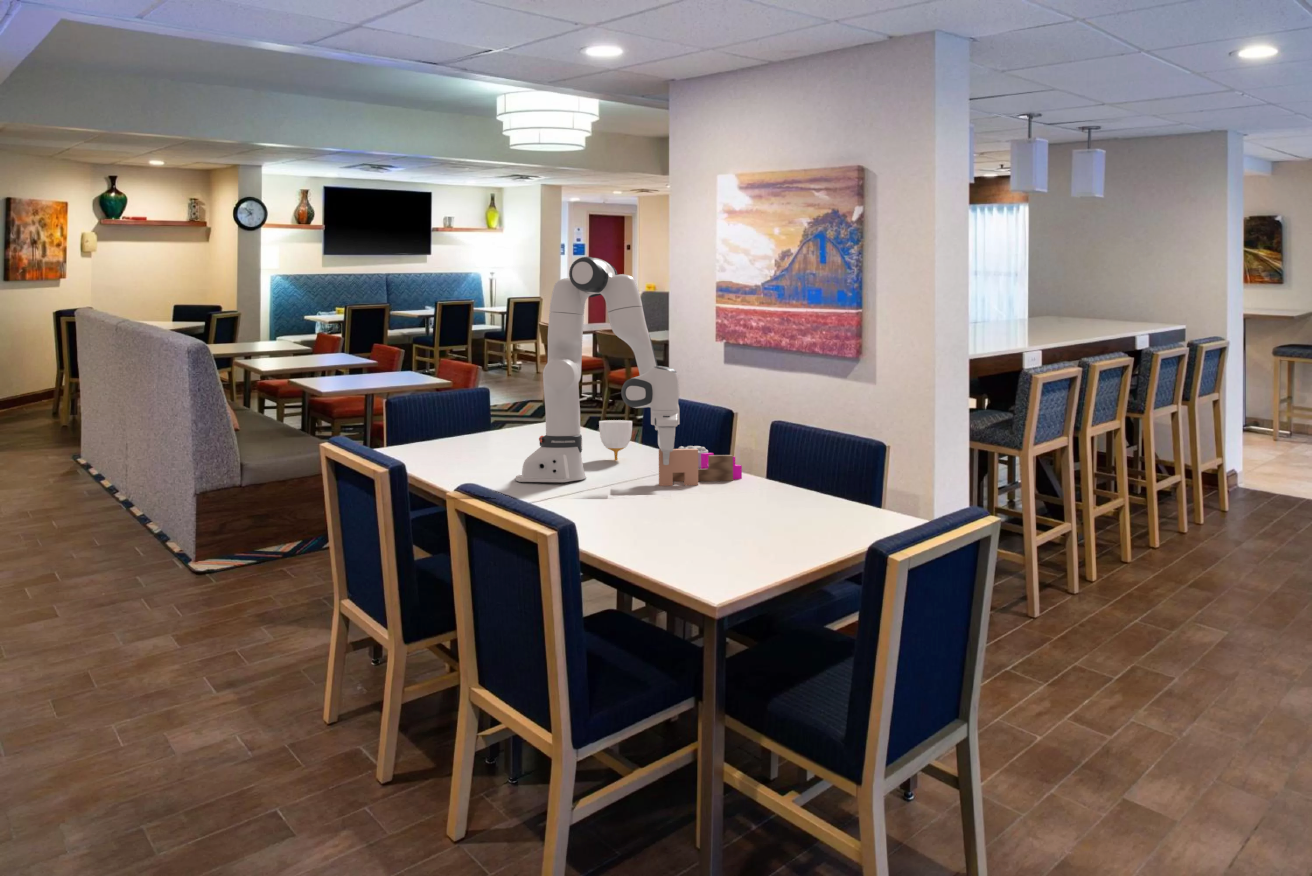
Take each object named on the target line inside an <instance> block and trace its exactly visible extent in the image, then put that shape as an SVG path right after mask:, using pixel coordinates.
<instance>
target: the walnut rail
mask: <svg viewBox="0 0 1312 876" xmlns="http://www.w3.org/2000/svg"><path fill="white" fill-rule="evenodd" d="M733 457H734V456H733V454H714V455H708V469H701V468H700V469H698V482H729V481H730V482H733V481H734V479H733ZM674 482H684V473H673V483H674Z"/></svg>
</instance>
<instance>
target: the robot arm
mask: <svg viewBox="0 0 1312 876" xmlns="http://www.w3.org/2000/svg"><path fill="white" fill-rule="evenodd" d="M568 275H569V276H568V277H565V278H561V279H559V280H557V281H556V282H555V283H554V285H553V289H552V293H551V298H550V303H549V314H548V326H547V363H546V364H545V366H544V368H543V371H542V380H543V383H542V385H543V396H544V397H543V398H544V399H543V400H544V408H545V435H541V436H539V438H538V442H539V446H540V447H538V448H537V449H536V450H535V451H534V452H532V453H531V454H530V455H529V456H528V457H527V458H526V459H524V461H523V464H522V469H521V474H522V475H520V474H518V475H516V476H515V478H514V479H516V480H515V481H516V482H520V483H521V482H522V483H568V482H574V481H581V480H586V479H587V475H586V473H585V469H584V464H583V457H582V451H583V437H582V434H581V407H580V404H581V403H580V389H579V384H580V381H581V379H582V359H583V334H584V333H583V332H584V321H585V310H586V309H585V308H586V301H587V299H588V298H594V297H598V296H602V297H603V298H604V300H605V304H606V305H605V306H606V310H607V317H608V321H609V324H610V328H611V330H612V332H613V333H612V334H614V335H615V336H617V338H619V340H620V339H621V340H622V341H623V342H624V343H625V344H627V345H628V346H629V347H630V349H631V351H632V352H633V355H634V357H635V362H636V365H637V369H638V373H639V374H638V376H635V377H631V378H629V379H627V380H626V381H624V383H623V385H622V387H621V398H622V401H623V403H624V404H625V405H627V406H628V407H631V408H632V409H633V408H635V409H644V408H650V425H652V426H654V430H655V431H657V445H658V447H659V449H661V451H662V452H663V464H664V465H669V456H670V452H672V451H673V449H675V440H676V439H675V438H676V427H678V425H680V424H681V423H680V405H679V399H680V380H679V379H680V378H679V374H678V371H677V370H676V369H675V368H673V367H669V366H663V365H658V362H657V358H656V354H655V350H654V346H653V342H652V339H651V335H650V333H649V330H648V326H647V322H646V317H645V313H644V307H643V302H642V297H641V295H640V294H641V293H640V290H639V288H638V285H637V283H636V280H635V278H634V277H632V276H631V275H629V274H625V273H622V274H621V273H620V274H618V272H617V270H616V268H615V267H614V266H613V264H611V263H610V262H608V261H605V260H603V259H601V258H598V257H592V256H582V257H578V258H577V259H575V261H573V262H572V264H571V266H570V267H569V272H568Z"/></svg>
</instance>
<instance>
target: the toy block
mask: <svg viewBox="0 0 1312 876" xmlns="http://www.w3.org/2000/svg"><path fill="white" fill-rule="evenodd" d="M708 455H715V454H714V452H708V453H701V468H700V469H708ZM742 468H743V466H742V465H741V464H736V456H733V480H741V479H742V478H743V473H742V472H743V471H742V470H743V469H742Z"/></svg>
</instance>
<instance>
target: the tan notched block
mask: <svg viewBox="0 0 1312 876" xmlns="http://www.w3.org/2000/svg"><path fill="white" fill-rule="evenodd" d="M673 473H684V481H683V485H684V486H699V481H698V449H678V448H673V451H672V452H670V456H669V465H664V464H663V452H662V451H661V449H660V448H659V449H658V486H660V487H661V486H662V487H665V486H668V487H670V486H673V484H674V482H673Z"/></svg>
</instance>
